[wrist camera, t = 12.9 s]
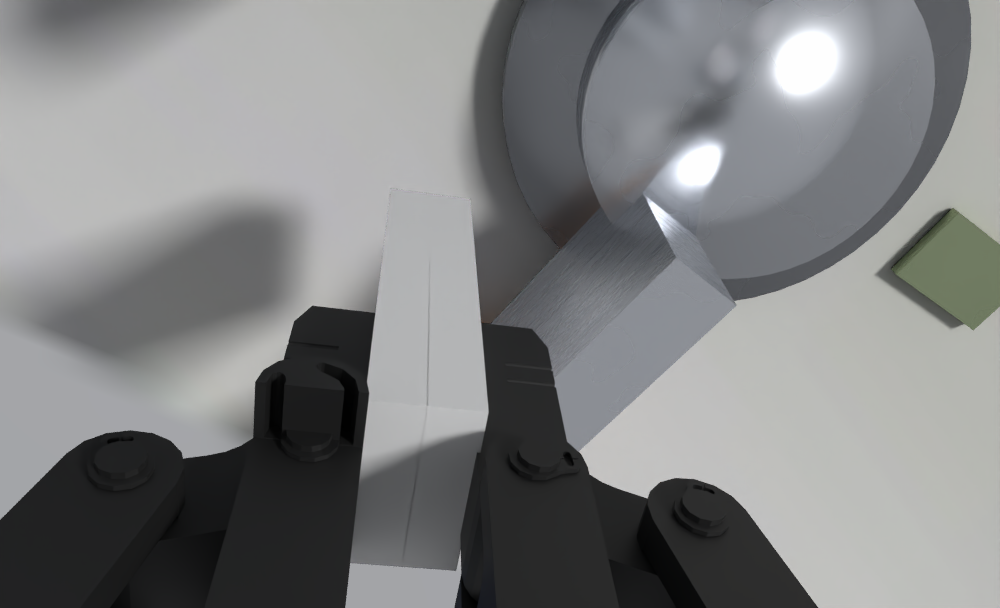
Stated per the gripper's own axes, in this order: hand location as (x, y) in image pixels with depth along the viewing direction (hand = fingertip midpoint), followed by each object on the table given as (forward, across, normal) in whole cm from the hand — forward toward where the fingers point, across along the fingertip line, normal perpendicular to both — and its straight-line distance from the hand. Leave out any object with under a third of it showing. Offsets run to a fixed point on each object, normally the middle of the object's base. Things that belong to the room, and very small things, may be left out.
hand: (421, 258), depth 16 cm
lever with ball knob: (+3, +5, +1) cm, 6 cm away
